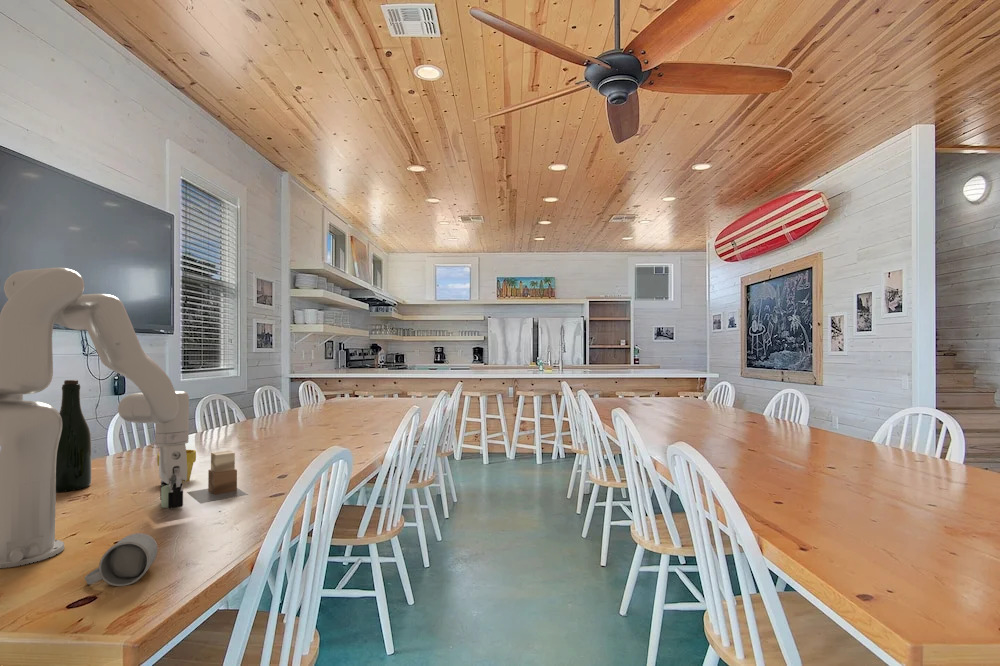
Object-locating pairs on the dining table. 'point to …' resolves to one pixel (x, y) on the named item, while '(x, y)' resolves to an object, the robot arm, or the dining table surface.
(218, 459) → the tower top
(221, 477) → the tower base
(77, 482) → the beer bottle
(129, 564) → the ceramic mug
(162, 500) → the pale green rounded piece
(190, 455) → the plant pot
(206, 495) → the slate board
